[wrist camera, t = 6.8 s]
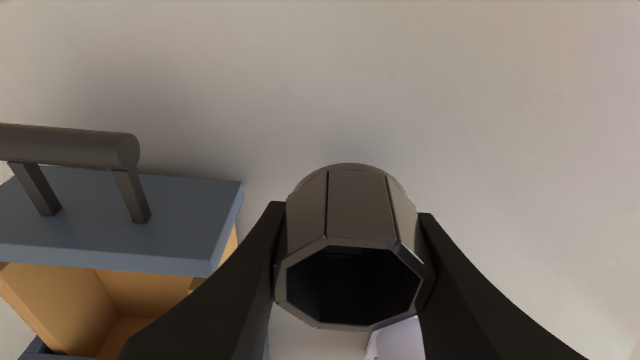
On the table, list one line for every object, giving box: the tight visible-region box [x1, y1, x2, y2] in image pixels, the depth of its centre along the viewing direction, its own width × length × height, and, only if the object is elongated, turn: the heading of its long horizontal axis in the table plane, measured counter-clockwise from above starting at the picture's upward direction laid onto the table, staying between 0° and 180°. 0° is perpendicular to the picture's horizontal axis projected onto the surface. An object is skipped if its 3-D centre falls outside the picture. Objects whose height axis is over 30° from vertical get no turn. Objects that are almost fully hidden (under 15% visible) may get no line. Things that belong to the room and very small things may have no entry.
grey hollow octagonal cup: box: [273, 163, 436, 333], centre depth 12 cm, size 5×5×4 cm
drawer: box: [0, 123, 244, 359], centre depth 17 cm, size 18×11×5 cm, turn 176°
